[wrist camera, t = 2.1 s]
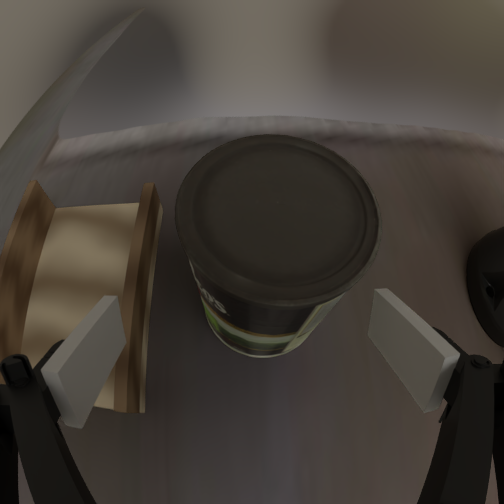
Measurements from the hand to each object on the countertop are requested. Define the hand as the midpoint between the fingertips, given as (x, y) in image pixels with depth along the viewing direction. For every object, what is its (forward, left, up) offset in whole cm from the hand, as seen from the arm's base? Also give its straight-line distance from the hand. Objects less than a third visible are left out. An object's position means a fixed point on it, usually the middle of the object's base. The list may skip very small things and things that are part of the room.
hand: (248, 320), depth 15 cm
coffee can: (+2, -5, -11) cm, 12 cm away
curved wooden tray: (+15, +6, -11) cm, 20 cm away
